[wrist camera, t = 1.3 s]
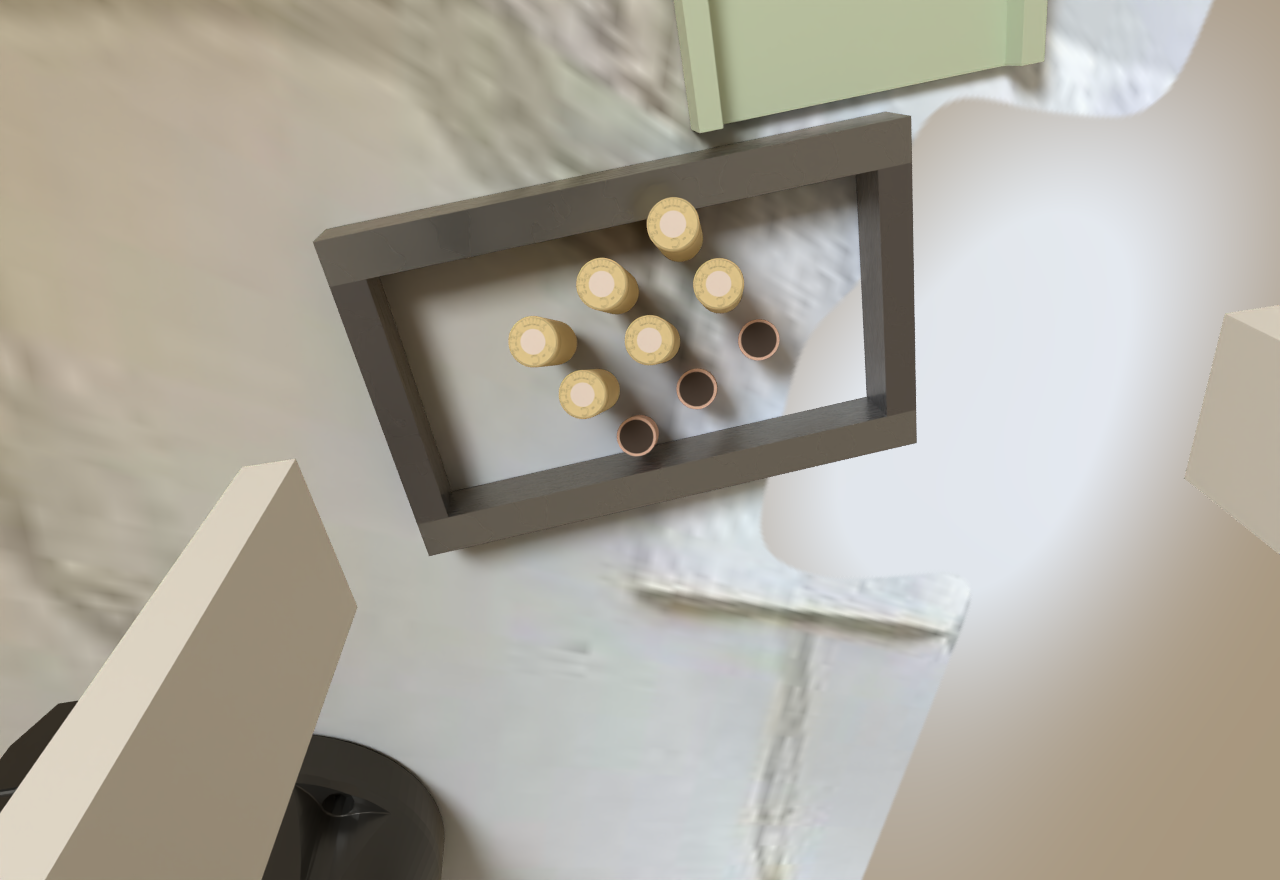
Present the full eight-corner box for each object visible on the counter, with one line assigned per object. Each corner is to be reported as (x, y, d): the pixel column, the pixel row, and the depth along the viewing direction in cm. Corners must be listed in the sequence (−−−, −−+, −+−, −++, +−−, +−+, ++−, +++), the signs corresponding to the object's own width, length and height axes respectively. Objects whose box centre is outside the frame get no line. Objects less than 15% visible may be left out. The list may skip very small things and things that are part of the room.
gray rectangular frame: (895, 422, 34) (916, 442, 32) (433, 528, 33) (429, 555, 31) (885, 111, 28) (911, 115, 26) (325, 229, 27) (313, 242, 25)
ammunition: (498, 345, 25) (652, 504, 28) (681, 189, 24) (819, 375, 27) (499, 303, 29) (632, 446, 33) (654, 169, 28) (776, 332, 31)
